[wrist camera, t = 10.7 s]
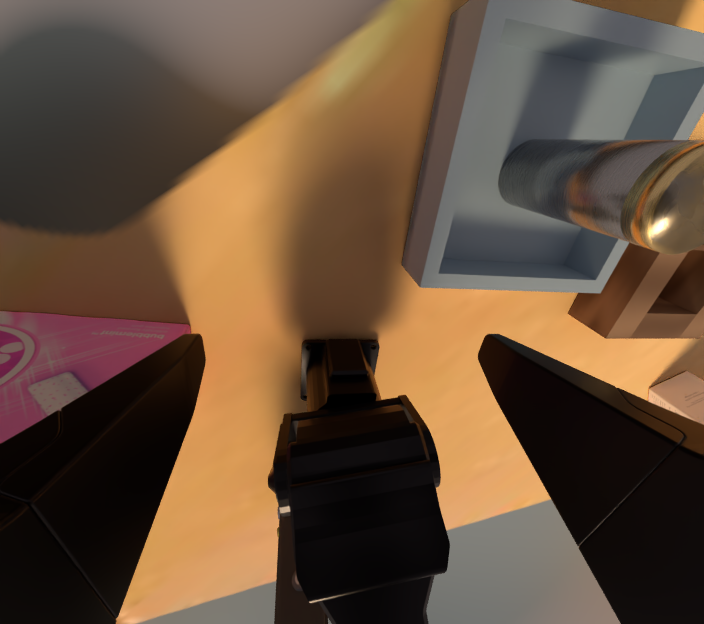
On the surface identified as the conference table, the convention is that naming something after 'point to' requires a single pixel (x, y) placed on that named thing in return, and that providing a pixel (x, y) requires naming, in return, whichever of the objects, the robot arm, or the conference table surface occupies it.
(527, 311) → the conference table surface
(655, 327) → the socket block
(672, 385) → the ink cartridge box
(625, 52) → the tray
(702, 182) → the steel pin
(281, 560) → the card reader
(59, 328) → the gum box
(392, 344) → the conference table surface
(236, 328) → the conference table surface
